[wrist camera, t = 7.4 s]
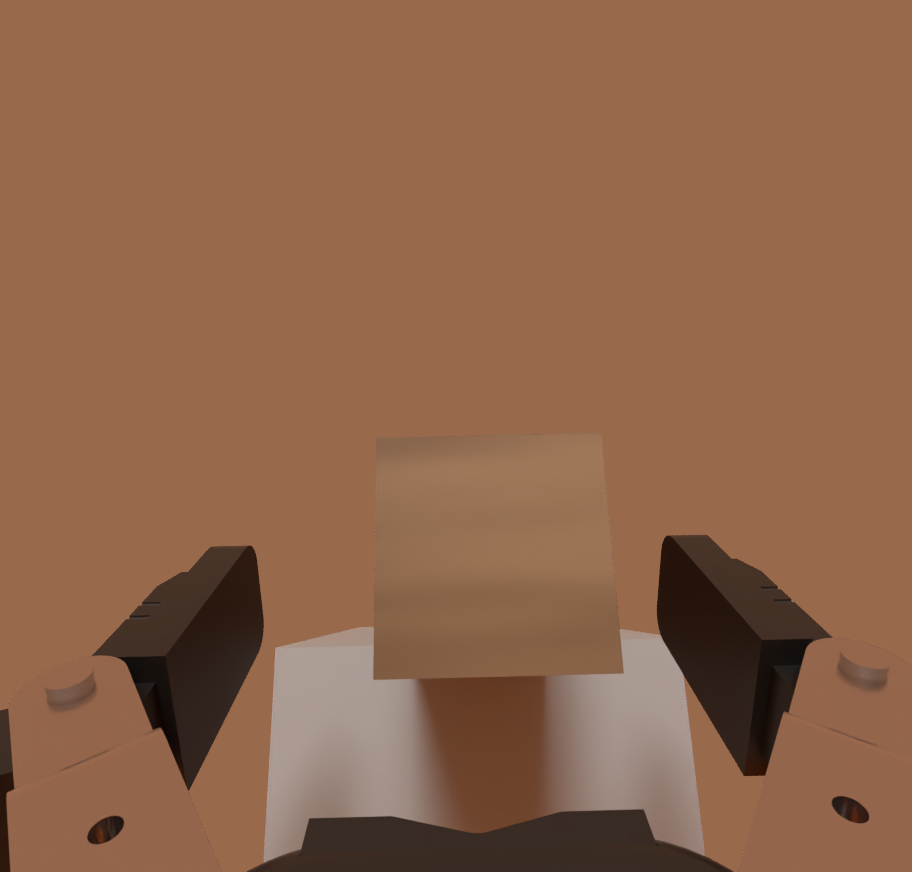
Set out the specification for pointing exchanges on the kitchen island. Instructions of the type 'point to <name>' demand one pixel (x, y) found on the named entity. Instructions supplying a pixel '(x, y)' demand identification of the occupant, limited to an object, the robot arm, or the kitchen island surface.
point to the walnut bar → (493, 558)
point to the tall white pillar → (476, 743)
